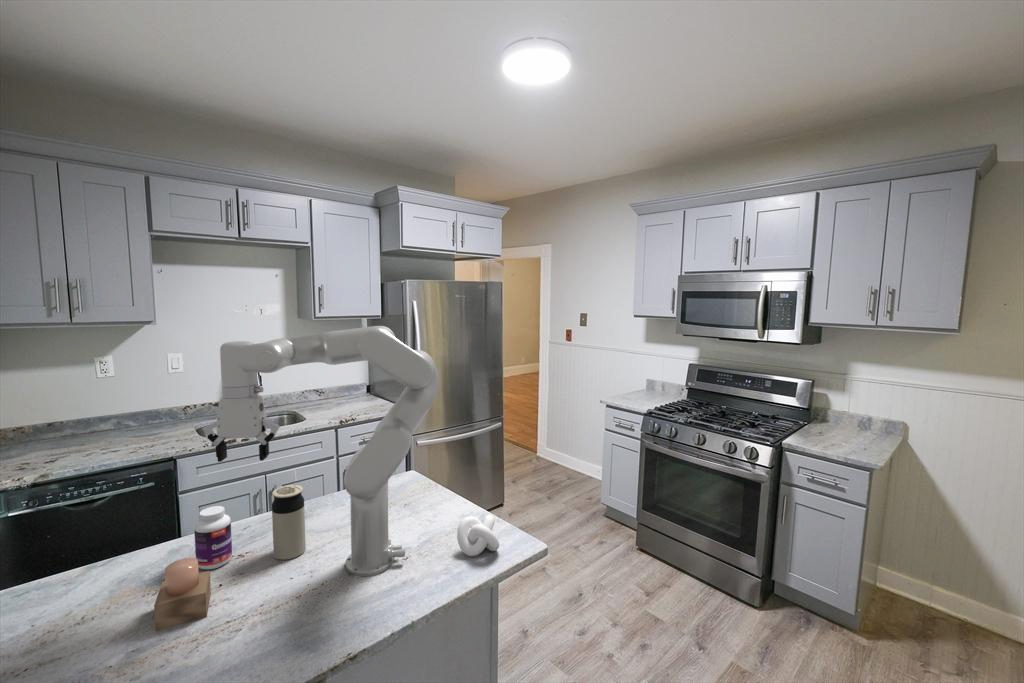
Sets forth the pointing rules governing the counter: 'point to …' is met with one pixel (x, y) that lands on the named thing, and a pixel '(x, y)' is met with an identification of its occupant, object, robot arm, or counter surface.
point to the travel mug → (288, 522)
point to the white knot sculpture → (477, 535)
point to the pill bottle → (213, 538)
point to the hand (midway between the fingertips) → (243, 459)
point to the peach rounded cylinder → (181, 576)
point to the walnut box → (182, 604)
